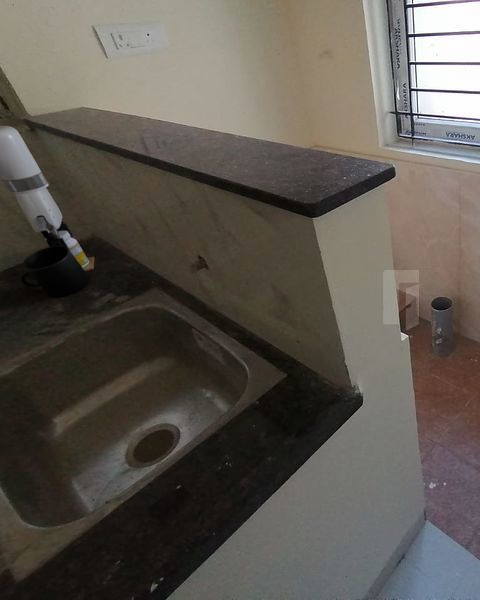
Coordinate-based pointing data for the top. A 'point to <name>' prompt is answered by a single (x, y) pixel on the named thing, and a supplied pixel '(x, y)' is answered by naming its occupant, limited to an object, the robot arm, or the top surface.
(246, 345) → the top surface
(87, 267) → the cork trivet
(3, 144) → the robot arm
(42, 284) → the mug
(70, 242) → the supplement bottle
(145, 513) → the top surface
